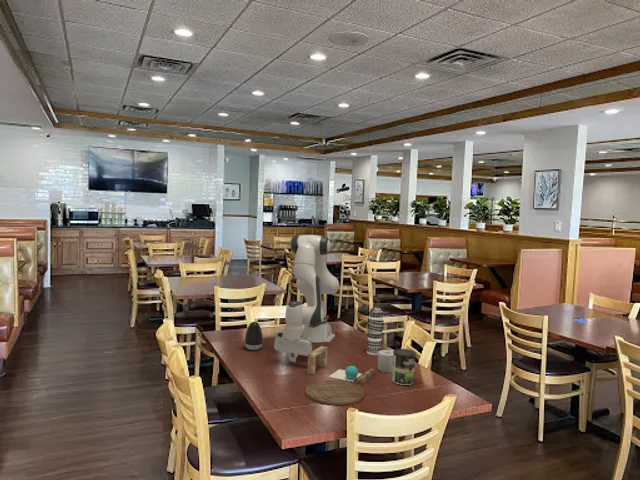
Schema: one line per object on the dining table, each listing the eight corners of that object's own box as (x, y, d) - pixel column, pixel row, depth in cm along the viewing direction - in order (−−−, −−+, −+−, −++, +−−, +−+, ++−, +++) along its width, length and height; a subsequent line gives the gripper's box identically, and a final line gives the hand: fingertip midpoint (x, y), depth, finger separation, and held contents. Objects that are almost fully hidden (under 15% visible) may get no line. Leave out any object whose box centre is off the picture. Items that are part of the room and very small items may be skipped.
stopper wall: (370, 373, 232) (370, 368, 231) (373, 374, 231) (374, 369, 231) (355, 385, 216) (356, 379, 215) (360, 386, 215) (360, 380, 214)
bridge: (307, 373, 228) (308, 353, 227) (321, 364, 242) (322, 346, 241) (313, 374, 227) (313, 354, 226) (326, 366, 240) (327, 347, 240)
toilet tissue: (402, 375, 231) (403, 357, 230) (375, 371, 236) (376, 354, 235) (405, 369, 240) (406, 352, 239) (379, 365, 244) (380, 349, 243)
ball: (352, 378, 227) (344, 368, 228) (362, 372, 225) (354, 361, 226) (348, 383, 221) (340, 372, 222) (358, 376, 219) (350, 365, 220)
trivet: (373, 404, 196) (373, 399, 196) (314, 409, 189) (314, 404, 189) (352, 382, 220) (352, 378, 220) (299, 386, 213) (299, 381, 213)
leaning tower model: (364, 354, 262) (366, 309, 260) (367, 349, 271) (369, 305, 269) (381, 356, 260) (383, 310, 258) (383, 351, 269) (385, 307, 267)
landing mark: (339, 369, 236) (339, 369, 236) (361, 374, 230) (362, 373, 230) (328, 376, 225) (328, 376, 225) (352, 381, 220) (352, 381, 219)
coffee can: (418, 384, 220) (420, 354, 219) (400, 387, 215) (402, 356, 214) (405, 376, 229) (406, 347, 228) (387, 379, 224) (388, 350, 224)
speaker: (240, 350, 261) (241, 322, 260) (250, 345, 271) (251, 318, 270) (256, 352, 257) (257, 325, 256) (266, 347, 267) (267, 321, 266)
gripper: (314, 336, 238) (313, 363, 238) (279, 329, 247) (278, 356, 248) (309, 338, 232) (307, 366, 233) (273, 332, 241) (272, 359, 242)
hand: (292, 361), depth 240 cm, fingers closed
